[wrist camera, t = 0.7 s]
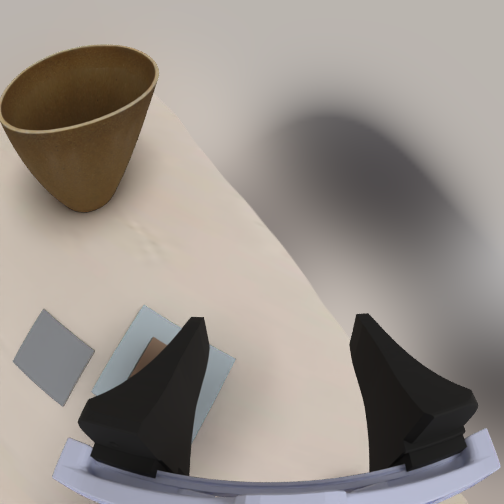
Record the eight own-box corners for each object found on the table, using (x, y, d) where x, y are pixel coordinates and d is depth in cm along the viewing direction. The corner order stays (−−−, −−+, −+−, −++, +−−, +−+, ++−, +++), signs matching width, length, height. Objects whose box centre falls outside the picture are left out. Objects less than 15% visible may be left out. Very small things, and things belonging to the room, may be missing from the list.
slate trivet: (63, 406, 19) (62, 406, 18) (14, 361, 18) (12, 361, 18) (94, 350, 22) (94, 350, 22) (44, 309, 22) (43, 308, 22)
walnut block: (173, 408, 23) (179, 418, 17) (132, 384, 22) (123, 387, 16) (194, 370, 25) (206, 367, 19) (154, 347, 25) (153, 336, 19)
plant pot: (30, 248, 24) (-29, 148, 10) (47, 153, 29) (29, 55, 16) (151, 235, 30) (161, 120, 16) (145, 143, 35) (159, 40, 21)
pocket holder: (186, 444, 21) (189, 448, 20) (95, 391, 21) (91, 392, 19) (231, 360, 27) (235, 358, 25) (144, 309, 26) (143, 304, 24)
